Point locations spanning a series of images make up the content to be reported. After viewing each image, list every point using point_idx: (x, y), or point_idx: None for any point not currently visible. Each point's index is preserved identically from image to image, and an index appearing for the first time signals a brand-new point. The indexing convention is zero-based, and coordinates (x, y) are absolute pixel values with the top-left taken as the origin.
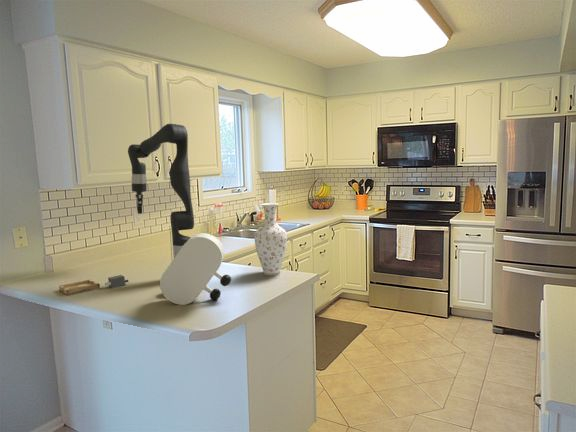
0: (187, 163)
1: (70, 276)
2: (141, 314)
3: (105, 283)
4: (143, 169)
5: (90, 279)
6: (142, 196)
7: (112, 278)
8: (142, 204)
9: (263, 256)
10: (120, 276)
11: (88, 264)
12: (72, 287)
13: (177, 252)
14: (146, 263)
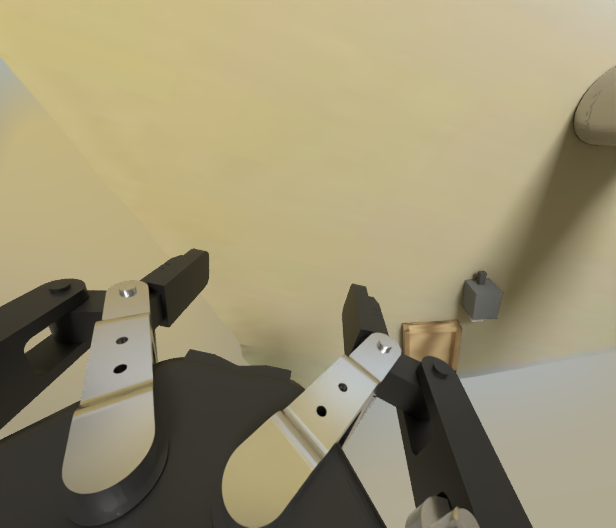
0: None
1: (307, 334)
2: None
3: (477, 320)
4: None
5: (406, 331)
6: (299, 489)
7: (492, 315)
8: (446, 375)
9: None
10: (492, 298)
11: (211, 289)
12: (415, 354)
13: None
14: (282, 161)
